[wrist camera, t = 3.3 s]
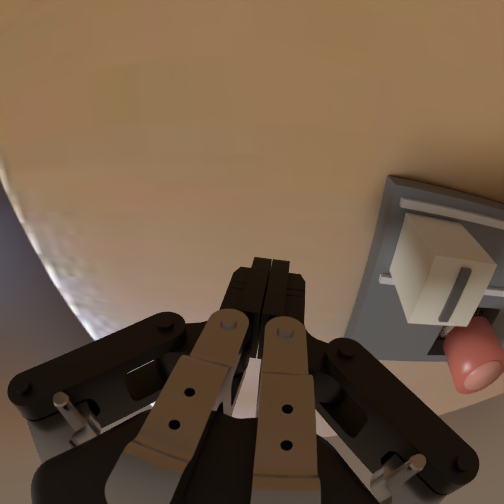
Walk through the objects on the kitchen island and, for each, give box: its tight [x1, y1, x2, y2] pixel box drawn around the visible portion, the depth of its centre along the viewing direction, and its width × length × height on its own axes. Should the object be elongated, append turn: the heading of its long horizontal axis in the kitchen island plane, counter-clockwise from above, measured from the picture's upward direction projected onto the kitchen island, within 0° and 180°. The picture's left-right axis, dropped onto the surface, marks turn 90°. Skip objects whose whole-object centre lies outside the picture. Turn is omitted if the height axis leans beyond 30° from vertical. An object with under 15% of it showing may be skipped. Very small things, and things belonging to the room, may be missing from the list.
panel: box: [344, 175, 504, 361], centre depth 16 cm, size 22×14×7 cm, turn 87°
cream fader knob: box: [389, 212, 497, 327], centre depth 14 cm, size 4×4×5 cm
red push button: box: [443, 316, 504, 394], centre depth 17 cm, size 5×5×4 cm
